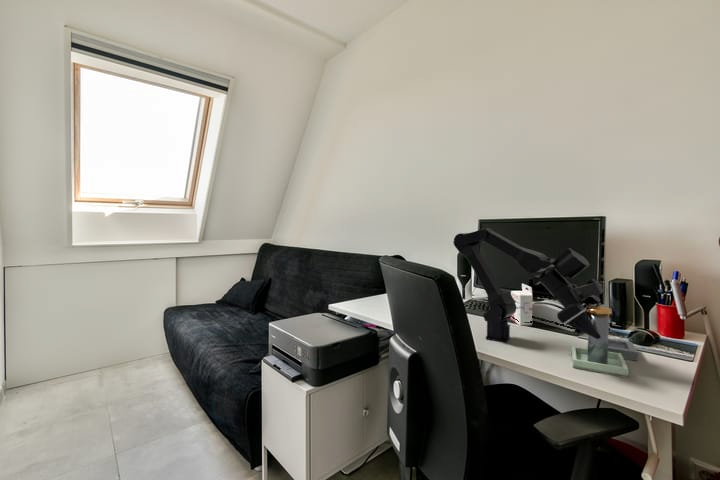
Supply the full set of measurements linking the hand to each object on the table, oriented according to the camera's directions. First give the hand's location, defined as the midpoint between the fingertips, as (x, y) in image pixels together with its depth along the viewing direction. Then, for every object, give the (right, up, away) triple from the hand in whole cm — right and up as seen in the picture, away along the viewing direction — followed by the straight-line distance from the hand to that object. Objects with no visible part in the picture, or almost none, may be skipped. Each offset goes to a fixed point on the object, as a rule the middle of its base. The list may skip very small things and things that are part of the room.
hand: (604, 334), depth 89 cm
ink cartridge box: (-3, -7, +41) cm, 42 cm away
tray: (-1, -9, +2) cm, 9 cm away
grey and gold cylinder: (-1, -8, +1) cm, 8 cm away
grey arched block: (+8, -7, +37) cm, 38 cm away
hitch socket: (+10, -8, +10) cm, 16 cm away
